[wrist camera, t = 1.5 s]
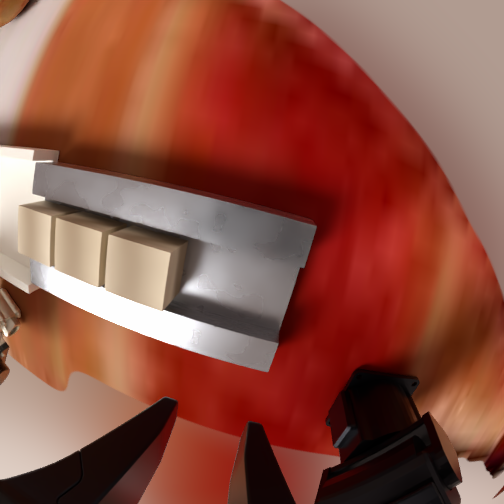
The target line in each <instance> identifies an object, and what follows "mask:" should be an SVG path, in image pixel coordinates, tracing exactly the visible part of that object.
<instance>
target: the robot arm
mask: <svg viewBox="0 0 504 504" xmlns="http://www.w3.org/2000/svg"><path fill="white" fill-rule="evenodd" d="M358 375H360V376H359V377H357V376H358ZM412 383H413V384H412ZM418 385H419V380H418V378H417V377H412V376H404V375H396V374H388V373H381V372H375V371H368V370H362V369H358V370H356V371H354V372H353V374H352V375H351V377H350V379H349V381H348V383H347V384H346V386H345V388H344V390H342V391H341V392H340V393H339V395H338V397H337V398H336V400H335V402H334V404H333V405H332V407H331V409H330V410H329V415H328V416H327V418H326V420H325V421H326V425H327V426H330V427H331V433H332V441H333V446H334V447H335V448H339V454H340V461H341V464H339V465H336V466H334V467H332V468H331V467H329V468H327V469H325V470H323V473H322V477H321V481H320V485H319V489H318V492H317V496H316V499H315V503H314V504H460V503H461V498H460V495H459V493H458V490H457V488H456V486H457V485H459V484H460V483H462V476H461V472H460V467H459V462H458V458H457V454H456V452H455V450H454V448H453V446H452V444H451V442H450V440H449V438H448V436H447V434H446V433H445V432H444V430H443V429H442V428H441V426H440V425H439V424H438V422H437V421H436V420H435V419H434V417H433V416H432V415H431V414H430V412H429V411H428V412H427V413H425V414H424V415H423V416H422V418H421V416H420V414H419V412H418V410H417V407H416V405H415V403H414V401H413V399H412V397H411V395H412V394H413V392H414V391H415V389H416V388H417V386H418ZM177 409H178V401H177V400H175V399H172V398H169V397H163V398H162V399H160V400H159V401H157V402H156V403H154V404H153V405H151V406H150V407H149V408H147V409H145V410H144V411H142V412H141V413H139V414H138V415H136V416H135V417H133V418H132V419H130V420H128V421H127V422H125V423H124V424H122V425H121V426H119V427H117V428H116V429H114V430H112V431H111V432H109V433H107V434H106V435H104V436H102V437H101V438H99V439H97V440H96V441H94V442H92V443H91V444H89V445H87V446H85V447H84V448H82V449H80V451H76V452H74V453H73V454H71V455H69V456H67V457H65V458H63V459H61V460H59V461H57V462H55V463H53V464H50V465H48V466H45V467H42V468H40V469H37V470H34V471H31V472H27V473H24V474H21V475H18V476H14V477H11V478H7V479H2V480H0V504H138V502H139V501H140V499H141V497H142V495H143V493H144V492H145V490H146V488H147V486H148V484H149V482H150V481H151V479H152V477H153V475H154V473H155V471H156V470H157V468H158V466H159V464H160V462H161V459H162V457H163V454H164V452H165V449H166V446H167V443H168V441H169V438H170V435H171V432H172V430H173V427H174V424H175V421H176V417H177ZM228 504H296V503H295V501H294V499H293V497H292V494H291V492H290V490H289V488H288V485H287V483H286V481H285V478H284V476H283V474H282V472H281V469H280V467H279V465H278V462H277V460H276V457H275V456H274V453H273V450H272V448H271V445H270V443H269V441H268V438H267V436H266V433H265V431H264V428H263V426H262V424H260V423H256V422H252V421H248V422H247V424H246V426H245V429H244V431H243V433H242V436H241V439H240V442H239V447H238V451H237V455H236V459H235V463H234V467H233V471H232V475H231V480H230V486H229V496H228Z"/></svg>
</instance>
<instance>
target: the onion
mask: <svg viewBox="0 0 504 504" xmlns="http://www.w3.org/2000/svg"><path fill="white" fill-rule="evenodd" d="M28 2H29V0H0V27H2V26H4V25H5V24H7V23H9V22H10V21H12V20H13V19H14V18H15V17H16V16H17V15H18V14H19V13H20V12H21V11H22V10H23V8H24V7H25V6H26V4H27V3H28Z"/></svg>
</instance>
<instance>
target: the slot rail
mask: <svg viewBox="0 0 504 504" xmlns="http://www.w3.org/2000/svg"><path fill="white" fill-rule="evenodd" d="M32 194H35V195H38V196H42V197H45V201H49V202H52V203H56V204H59V205H63V206H66V207H70V208H73V209H77V210H78V212H82V211H84V212H87V213H91V214H94V215H98V216H101V217H105V218H109V219H112V220H116V221H119V222H123V223H126V224H127V227H130V226H133V225H134V226H137V227H141V228H144V229H148V230H151V231H155V232H159V233H162V234H166V235H169V236H173V237H177V238H180V239H184V240H187V241H188V245H187V251H186V256H185V262H184V267H183V273H182V279H181V285H180V291H179V293H178V294H177V296H176V297H175V298H174V299H173V300H172V301H171V302H170V303H169V305H168V306H167V307H166V308H165V309H164V310H163V311H162V312H161V311H158V310H155V309H152V308H149V307H147V306H144V305H141V304H138V303H135V302H133V301H130V300H127V299H125V298H122V297H119V296H117V295H114V294H112V293H109V292H107V291H105V284H104V285H102V286H101V287H99V288H97V287H94V286H92V285H89V284H87V283H84V282H82V281H80V280H77V279H75V278H73V277H70V276H68V275H66V274H63V273H61V272H59V271H57V270H55V265H54V266H52V267H48V266H46V265H44V264H42V263H39V262H37V261H35V260H33V259H31V258H30V272H31V283H32V284H34V285H36V286H38V287H40V288H42V289H44V290H46V291H48V292H49V293H51V294H53V295H55V296H57V297H59V298H61V299H63V300H65V301H67V302H70V303H72V304H74V305H76V306H78V307H80V308H82V309H84V310H87V311H89V312H91V313H93V314H96V315H98V316H100V317H102V318H105V319H107V320H109V321H112V322H114V323H117V324H119V325H121V326H124V327H126V328H129V329H131V330H134V331H137V332H139V333H142V334H144V335H147V336H150V337H153V338H155V339H158V340H161V341H164V342H166V343H169V344H172V345H175V346H178V347H181V348H184V349H187V350H190V351H193V352H196V353H200V354H203V355H206V356H209V357H213V358H216V359H220V360H223V361H227V362H230V363H234V364H237V365H241V366H245V367H249V368H253V369H257V370H261V371H265V372H268V371H269V368H270V365H271V363H272V360H273V357H274V355H275V352H276V349H277V346H278V344H279V330H280V327H281V324H282V321H283V318H284V315H285V312H286V309H287V306H288V303H289V300H290V297H291V294H292V291H293V288H294V285H295V282H296V279H297V275H298V272H299V269H300V267H301V268H304V267H305V264H306V261H307V257H308V254H309V251H310V248H311V244H312V241H313V238H314V234H315V231H316V228H317V226H316V224H315V223H314V221H313V220H312V219H309V218H305V217H302V216H298V215H295V214H291V213H287V212H284V211H280V210H276V209H273V208H269V207H265V206H262V205H258V204H254V203H250V202H246V201H242V200H238V199H234V198H230V197H226V196H222V195H218V194H214V193H210V192H206V191H201V190H197V189H193V188H189V187H184V186H180V185H175V184H171V183H166V182H162V181H157V180H152V179H148V178H143V177H138V176H133V175H128V174H123V173H118V172H113V171H108V170H102V169H97V168H91V167H86V166H80V165H74V164H68V163H62V162H36V164H35V171H34V179H33V189H32ZM127 227H126V228H127Z"/></svg>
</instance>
